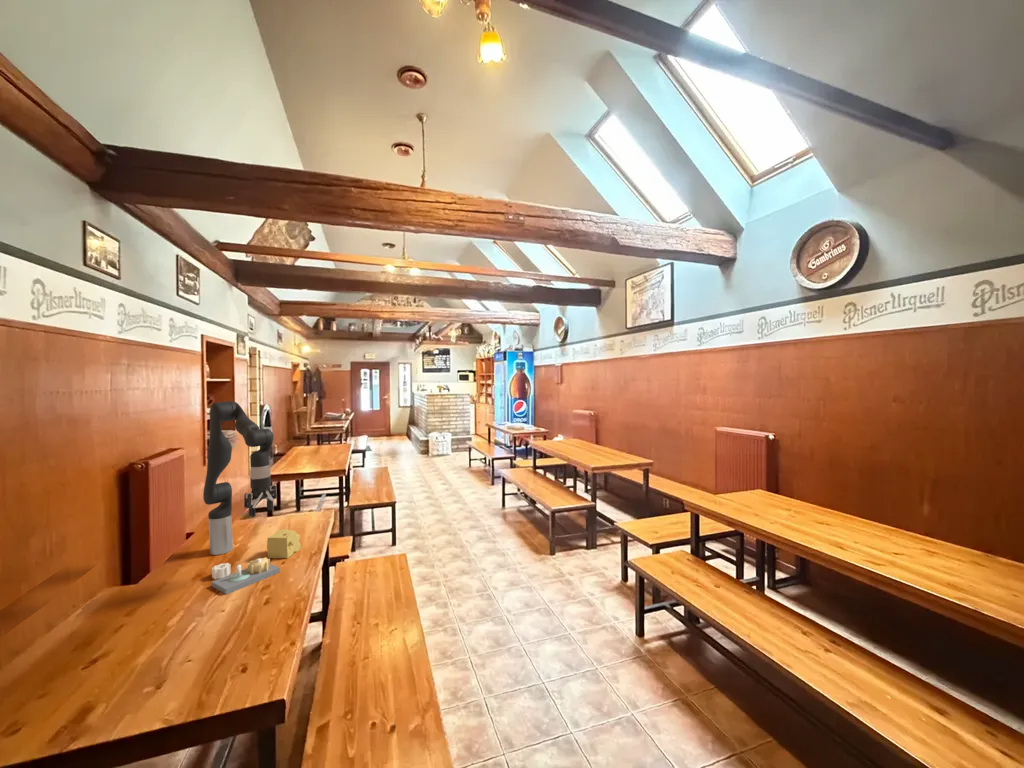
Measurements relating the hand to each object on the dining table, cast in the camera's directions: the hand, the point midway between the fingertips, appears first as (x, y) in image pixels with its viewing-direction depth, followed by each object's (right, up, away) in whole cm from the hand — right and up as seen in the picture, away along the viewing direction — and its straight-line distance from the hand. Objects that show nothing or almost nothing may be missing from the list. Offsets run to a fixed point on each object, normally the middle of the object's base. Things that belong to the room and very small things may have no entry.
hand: (261, 513), depth 182 cm
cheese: (-1, -26, +20) cm, 33 cm away
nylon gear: (-17, -27, -1) cm, 31 cm away
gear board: (-4, -26, -4) cm, 27 cm away
